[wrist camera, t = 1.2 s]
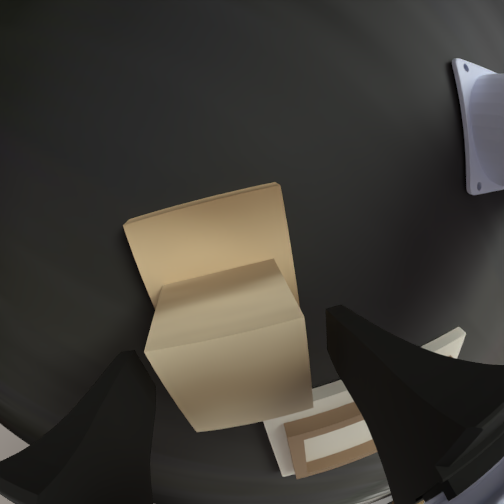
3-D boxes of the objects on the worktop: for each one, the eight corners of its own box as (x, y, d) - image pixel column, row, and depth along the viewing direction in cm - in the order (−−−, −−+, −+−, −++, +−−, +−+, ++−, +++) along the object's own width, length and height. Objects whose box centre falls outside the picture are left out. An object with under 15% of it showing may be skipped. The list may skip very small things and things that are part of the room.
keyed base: (458, 326, 16) (475, 341, 14) (422, 414, 21) (431, 428, 19) (258, 402, 15) (264, 430, 13) (280, 468, 20) (285, 486, 18)
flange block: (131, 217, 11) (78, 271, 6) (273, 180, 11) (320, 209, 6) (200, 383, 14) (202, 460, 10) (302, 360, 15) (331, 432, 10)
